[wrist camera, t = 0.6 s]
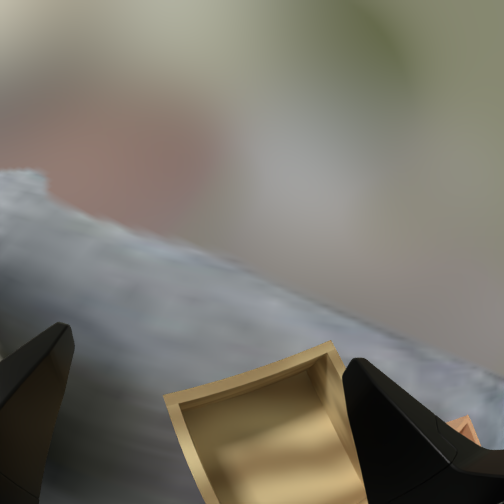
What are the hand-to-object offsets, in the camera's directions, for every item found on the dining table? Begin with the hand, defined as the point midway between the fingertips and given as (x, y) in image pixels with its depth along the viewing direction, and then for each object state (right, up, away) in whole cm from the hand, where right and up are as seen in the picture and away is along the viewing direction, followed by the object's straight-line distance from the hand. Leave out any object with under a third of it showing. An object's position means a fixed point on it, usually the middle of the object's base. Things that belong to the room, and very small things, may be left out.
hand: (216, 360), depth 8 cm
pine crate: (+3, -14, +10) cm, 18 cm away
